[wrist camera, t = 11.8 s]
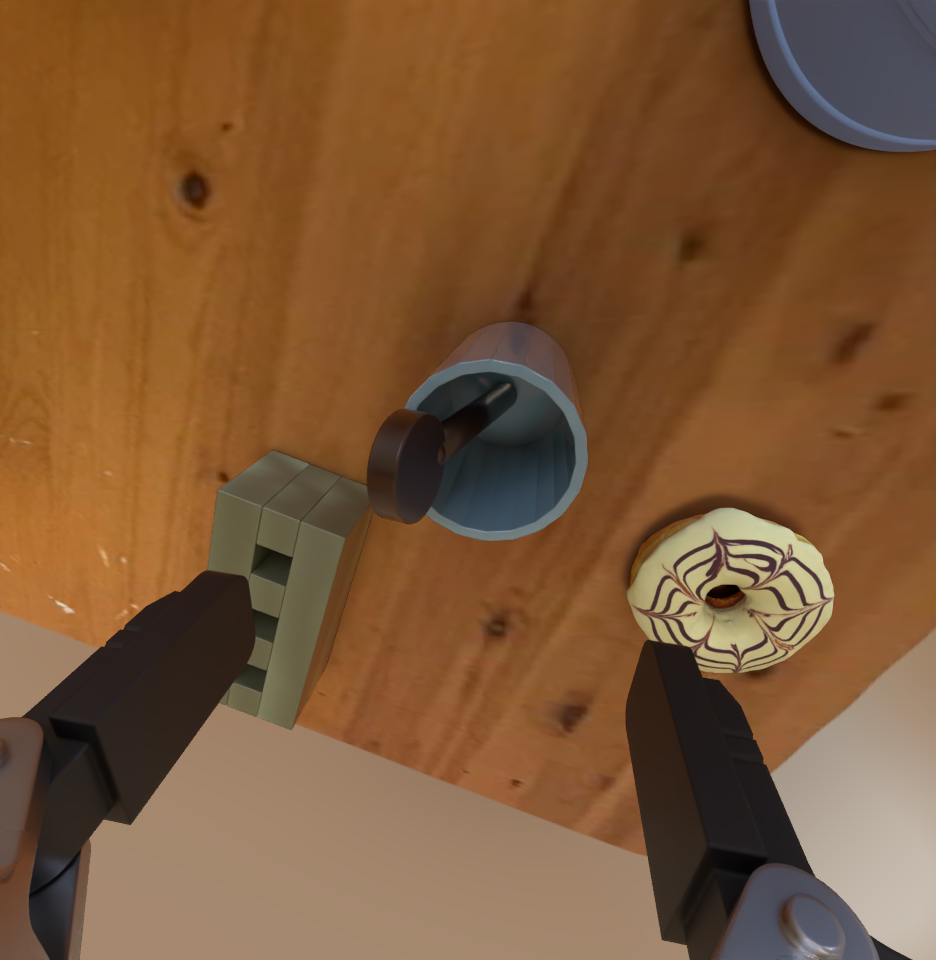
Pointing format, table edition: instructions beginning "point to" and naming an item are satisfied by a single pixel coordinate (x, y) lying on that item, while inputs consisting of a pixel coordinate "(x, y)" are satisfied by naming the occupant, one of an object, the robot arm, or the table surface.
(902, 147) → the water jug
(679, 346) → the table surface
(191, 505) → the table surface
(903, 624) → the table surface
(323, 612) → the stand
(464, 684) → the table surface
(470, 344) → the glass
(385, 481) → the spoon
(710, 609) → the decorated donut
